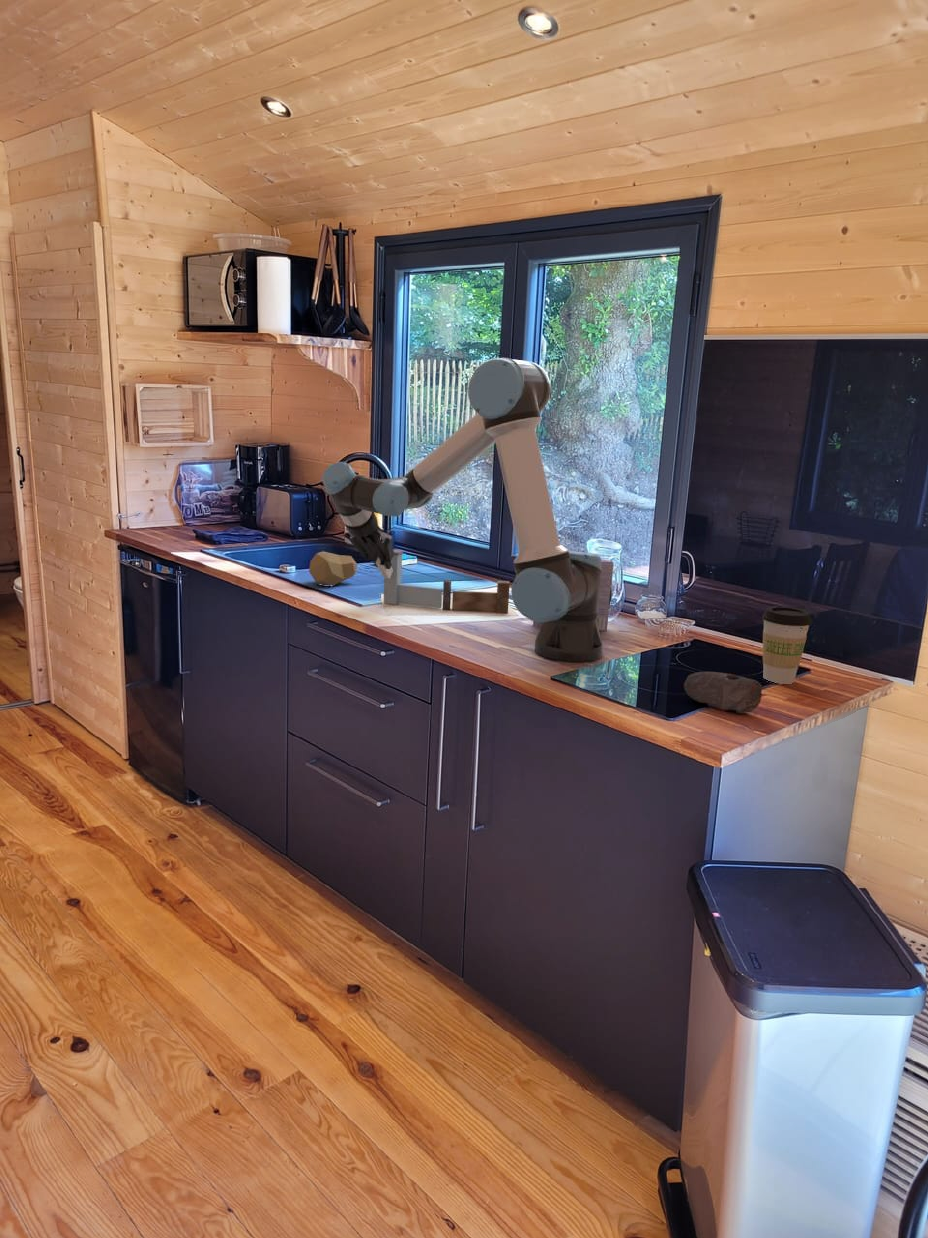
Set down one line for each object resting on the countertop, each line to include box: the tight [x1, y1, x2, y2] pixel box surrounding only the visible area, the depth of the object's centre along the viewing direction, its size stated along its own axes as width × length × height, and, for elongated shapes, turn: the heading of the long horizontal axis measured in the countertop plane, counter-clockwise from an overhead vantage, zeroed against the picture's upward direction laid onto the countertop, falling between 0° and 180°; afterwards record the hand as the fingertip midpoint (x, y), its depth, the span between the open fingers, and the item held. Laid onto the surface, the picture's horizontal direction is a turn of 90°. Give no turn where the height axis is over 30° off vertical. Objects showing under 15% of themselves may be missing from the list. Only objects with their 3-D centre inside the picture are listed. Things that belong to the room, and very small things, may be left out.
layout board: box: [380, 593, 520, 617], centre depth 246 cm, size 24×34×1 cm
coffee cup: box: [761, 605, 813, 685], centre depth 193 cm, size 10×10×15 cm
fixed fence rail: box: [442, 580, 511, 614], centre depth 239 cm, size 17×3×8 cm, turn 90°
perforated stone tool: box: [683, 671, 763, 714], centre depth 175 cm, size 15×5×7 cm, turn 47°
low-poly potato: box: [308, 551, 358, 586], centre depth 264 cm, size 15×11×12 cm
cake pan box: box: [532, 559, 614, 632], centre depth 227 cm, size 19×5×18 cm, turn 99°
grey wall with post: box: [383, 548, 443, 608], centre depth 240 cm, size 16×4×14 cm, turn 74°
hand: (388, 573), depth 239 cm, fingers closed
